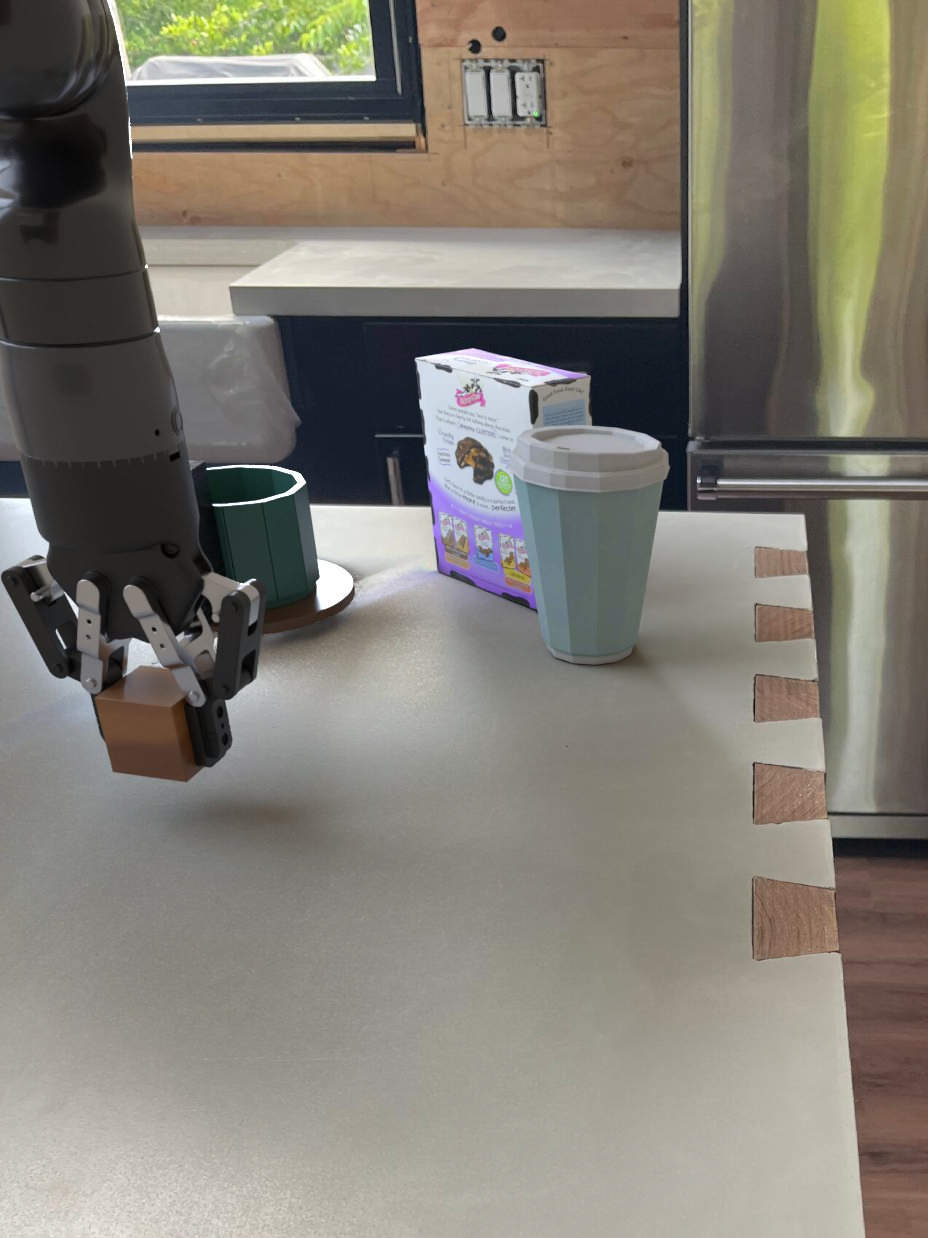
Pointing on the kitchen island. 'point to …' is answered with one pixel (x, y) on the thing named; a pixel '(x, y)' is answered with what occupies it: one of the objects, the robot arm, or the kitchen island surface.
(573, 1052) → the kitchen island surface
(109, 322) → the robot arm
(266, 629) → the cup with saucer
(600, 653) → the disposable coffee cup
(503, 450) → the candy box
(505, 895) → the kitchen island surface
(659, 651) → the kitchen island surface
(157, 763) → the block
